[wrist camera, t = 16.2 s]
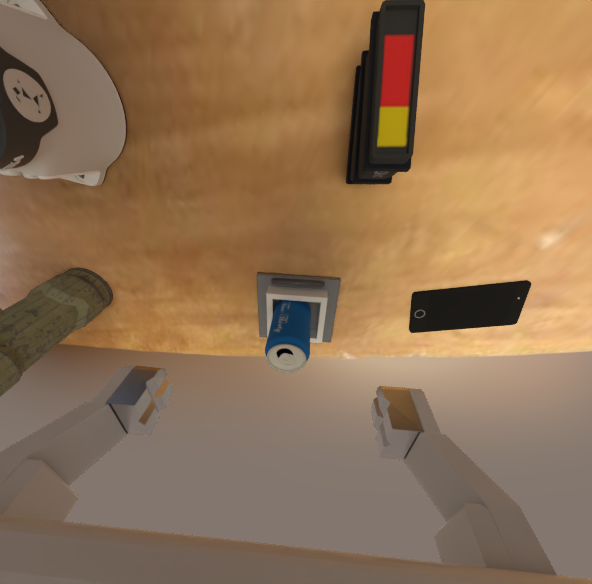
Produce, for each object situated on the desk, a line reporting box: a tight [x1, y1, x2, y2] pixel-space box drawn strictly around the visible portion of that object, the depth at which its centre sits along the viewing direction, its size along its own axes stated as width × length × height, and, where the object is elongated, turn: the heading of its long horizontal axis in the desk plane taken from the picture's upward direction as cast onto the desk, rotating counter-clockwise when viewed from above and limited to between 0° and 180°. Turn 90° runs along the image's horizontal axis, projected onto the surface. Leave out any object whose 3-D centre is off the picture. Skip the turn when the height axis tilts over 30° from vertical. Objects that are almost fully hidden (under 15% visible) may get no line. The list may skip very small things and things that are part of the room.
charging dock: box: [257, 272, 341, 343], centre depth 45 cm, size 14×14×3 cm
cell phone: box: [409, 280, 531, 333], centre depth 44 cm, size 9×18×1 cm, turn 100°
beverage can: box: [265, 300, 311, 373], centre depth 40 cm, size 6×6×12 cm
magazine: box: [346, 0, 425, 184], centre depth 26 cm, size 4×13×15 cm, turn 0°
